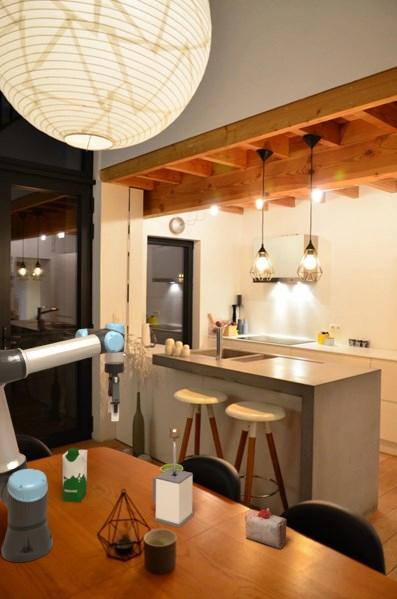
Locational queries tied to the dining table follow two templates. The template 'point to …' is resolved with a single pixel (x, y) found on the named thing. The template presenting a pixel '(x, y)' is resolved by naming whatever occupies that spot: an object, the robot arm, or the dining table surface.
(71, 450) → the milk carton
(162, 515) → the tall white box
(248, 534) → the food item
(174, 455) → the plunger
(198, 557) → the dining table surface
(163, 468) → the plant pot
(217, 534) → the dining table surface
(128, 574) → the dining table surface
